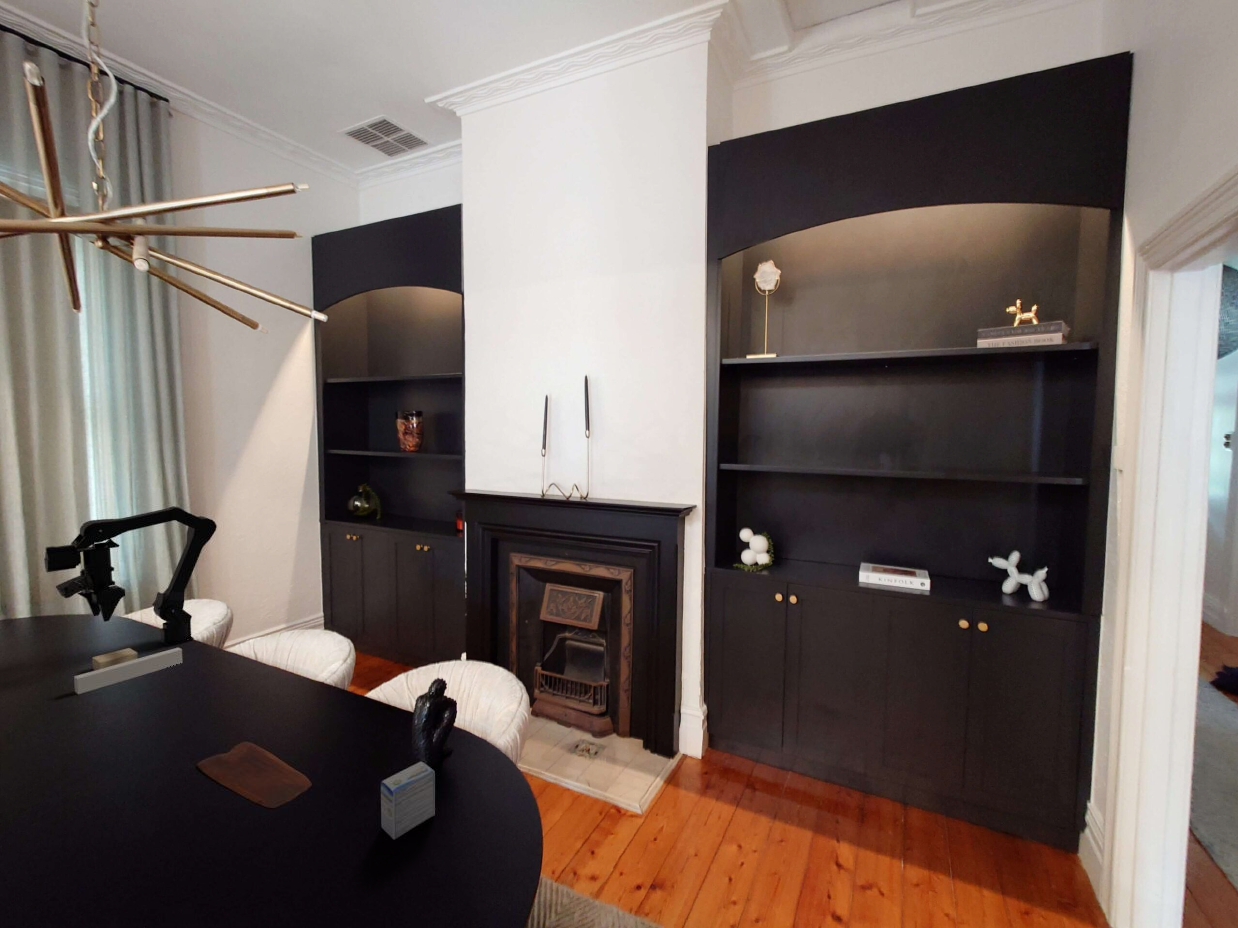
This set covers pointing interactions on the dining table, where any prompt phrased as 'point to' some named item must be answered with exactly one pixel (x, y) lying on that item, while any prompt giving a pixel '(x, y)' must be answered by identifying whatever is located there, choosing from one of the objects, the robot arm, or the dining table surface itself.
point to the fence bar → (126, 670)
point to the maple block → (114, 658)
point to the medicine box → (407, 799)
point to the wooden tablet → (256, 775)
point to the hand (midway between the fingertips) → (101, 618)
